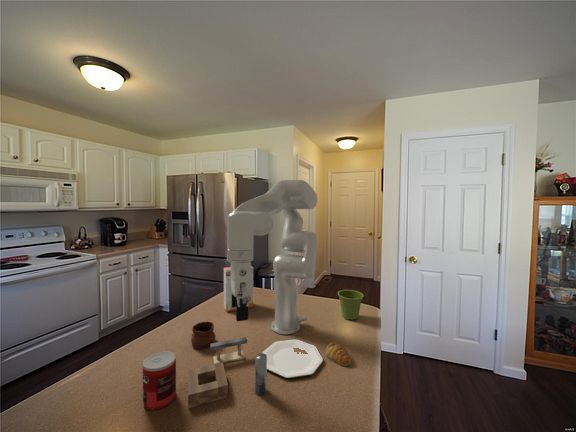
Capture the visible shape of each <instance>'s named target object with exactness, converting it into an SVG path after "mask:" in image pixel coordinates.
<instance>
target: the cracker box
mask: <svg viewBox="0 0 576 432" xmlns="http://www.w3.org/2000/svg"><path fill="white" fill-rule="evenodd" d="M251 272H252V296H248V294H247V297H248V309H249V308H254V266H252V265H251ZM223 308H224V310H225V312H226V313H228V312H233V311H236V307H232V289H231V266H228V267H227V266H226V267H223Z"/></svg>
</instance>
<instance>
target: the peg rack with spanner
mask: <svg viewBox="0 0 576 432" xmlns="http://www.w3.org/2000/svg"><path fill="white" fill-rule="evenodd" d="M245 344H248V339H247V337H246V336H244V337H239V338H233V339H228V340H223V341H219V342H214V343H212V344H210V347H209V348H210V351H215V350H216V355H214V356H213V357H212V359H213V365H215V364H220V363H223V364H226V363H230V362H236V361H239V360H244V359H245V358H246V356H245V354H244V351H243V350H242V345H245ZM236 346H237V350H236V351H232V352H228V353H223V354H221V349H225V348H230V347H236Z"/></svg>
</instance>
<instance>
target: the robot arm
mask: <svg viewBox="0 0 576 432" xmlns="http://www.w3.org/2000/svg"><path fill="white" fill-rule="evenodd" d="M317 203H318V195H317V193H316V191H315V190H314V188H313V187H312V186H311V185H310V184H309V183H308V182H307V181H305V180H303V179H282V180H278V181H277V182H276V183H275V184H273V186H272V187H271V188H270V189H269V190H267V192H266V193H264V194H262V195H259V196H257V197H253V198H251V199H249V200H246V201H244V202H242V203H241V204H240V205H238V206H237V207H236V208H235V209H234V210H233V211H232V212H230V213H229V214H228V215H227V223H226V225H227V227H226V229H227V230H226V237H227V239H226V240H227V241H226V262H229V263H230V267H231V289H232V307H236V310H235V315H236V316H235V318H236V319H235V320H236V321H237V322H244V321H249V308H248V297H247V294H248V296H252V272H251V266H252V263H251V262H252V261H254V237H255V236H259V237H261V236H266V235H268V234H269V233H270V232H271V231H272V229H273V226H274V220H273V217H272V216H273V215H277V214H279V213H280V212H282V213H283V217H284V219H283V220H284V221H283V228H282V233H281V239H280V247H281V249H282V250H283V251H284V252H285V251H286V252H289V253H280V254H278V255H276V256H275V257H274V258H273V261H272V270H273V275H274V319H273V321H272V322H271V323H270V329H271V330H272V331H273V332H274V333H276V334H280V335H292V334H295V333H297V332H299V330H300V329H301V324H300V323H301V322H307V321H308V318H307V317H308V316H306V315H305V316H303V315H302V314H298V285H297V283H296V280H295V279H299V280H306V281H307V280H310V279H312V278H313V276H314V272H315V266H316V259H317V252H318V251H317V250H318V237H317V234H316V233H315V232H313V231H310V230H303V226H304V220H303V217H302V215H301V214H300V213H299V211H298V210H312V209H315V208H316V206H317ZM290 252H291V253H300V254H299V255H298V254H291V253H290ZM301 253H302V254H303V255H301Z"/></svg>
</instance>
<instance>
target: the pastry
mask: <svg viewBox="0 0 576 432" xmlns="http://www.w3.org/2000/svg"><path fill="white" fill-rule="evenodd" d="M324 354H325V356H326V358H328V359H329V360H330V361H331V362H333V363H335V364H337V365H338V366H342V367H347V366H349V365H351V363H352V357H351V356H350V354H349V352H348V351H347V349H345V347H343V346H342V345H341V344H337V342H329V344H328V345H327V346H326V348H325V350H324Z"/></svg>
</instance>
